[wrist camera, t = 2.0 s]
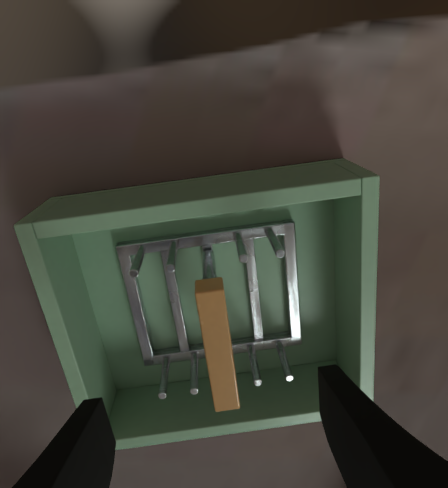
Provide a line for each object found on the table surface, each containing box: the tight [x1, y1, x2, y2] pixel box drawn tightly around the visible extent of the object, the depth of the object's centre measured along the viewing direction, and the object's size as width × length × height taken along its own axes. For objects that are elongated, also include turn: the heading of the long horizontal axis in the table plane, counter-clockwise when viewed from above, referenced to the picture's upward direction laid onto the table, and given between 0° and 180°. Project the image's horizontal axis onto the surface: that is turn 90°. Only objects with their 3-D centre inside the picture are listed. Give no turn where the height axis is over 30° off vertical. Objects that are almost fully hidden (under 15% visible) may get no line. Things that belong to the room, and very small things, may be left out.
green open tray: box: [14, 158, 380, 450], centre depth 19 cm, size 14×12×4 cm
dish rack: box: [115, 219, 302, 412], centre depth 18 cm, size 8×7×5 cm
